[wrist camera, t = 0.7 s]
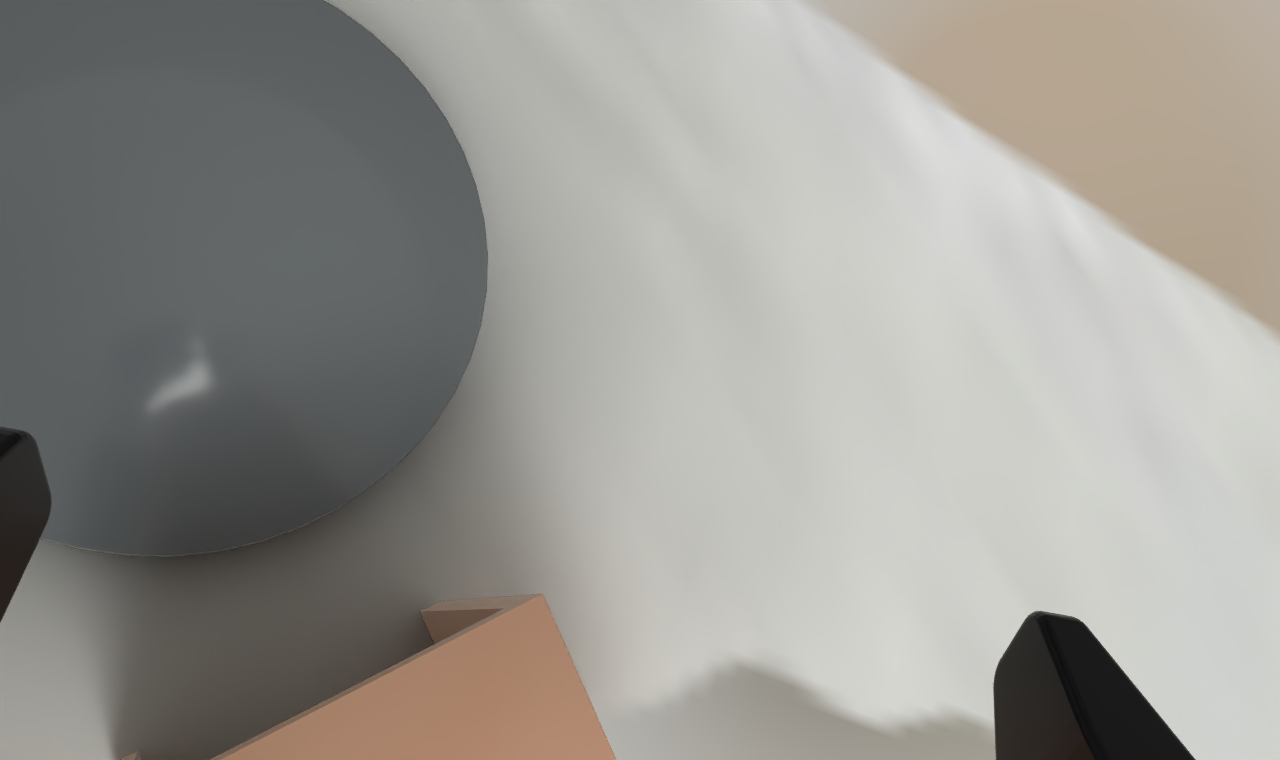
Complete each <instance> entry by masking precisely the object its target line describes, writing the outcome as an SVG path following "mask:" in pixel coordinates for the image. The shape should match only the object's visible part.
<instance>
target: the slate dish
mask: <svg viewBox="0 0 1280 760" xmlns="http://www.w3.org/2000/svg"><path fill="white" fill-rule="evenodd" d="M487 264H488V252H487V242H486V233H485V223H484V217H483V212H482V208H481V204H480V200H479V196H478V191H477V187H476V184H475V181H474V178H473V176H472V173H471V170H470V168H469V165H468V162H467V160H466V157H465V154H464V152H463V150H462V148H461V146H460V144H459V142H458V140H457V138H456V136H455V134H454V132H453V131H452V129H451V127H450V125H449V123H448V121H447V119H446V118H445V116H444V115H443V113H442V112H441V110H440V109H439V107H438V106H437V104H436V103H435V102H434V100H433V99H432V97H431V96H430V94H429V93H428V91H427V90H426V88H425V87H424V86H423V85H422V84H421V83H420V81H419V80H418V79H417V78H416V77H415V76H414V75H413V73H412V72H411V71H410V70H409V69H408V68H407V66H406V65H405V64H404V63H403V62H402V61H401V60H400V59H399V58H398V57H397V56H396V55H395V54H394V53H393V52H392V51H391V50H390V49H389V48H387V47H386V46H385V45H384V44H383V43H382V42H381V41H380V40H379V39H378V38H377V37H375V36H374V35H373V34H372V33H371V32H370V31H368V30H367V29H365V28H364V27H363V26H361V25H360V24H359V23H357V22H356V21H355V20H353V19H352V18H351V17H349V16H348V15H346V14H345V13H344V12H342V11H341V10H340V9H338V8H336V7H334V6H333V5H331V4H329V3H328V2H326V1H324V0H0V427H6V428H12V429H17V430H23V431H25V432H28V433H30V434H31V435H32V437H33V438H34V439H35V440H36V443H37V445H38V449H39V452H40V456H41V459H42V463H43V467H44V470H45V474H46V477H47V481H48V484H49V488H50V491H51V497H52V506H51V512H50V516H49V519H48V522H47V524H46V527H45V529H44V531H43V533H42V535H41V537H40V539H42V540H46V541H50V542H53V543H57V544H61V545H65V546H68V547H72V548H76V549H80V550H86V551H93V552H101V553H108V554H115V555H122V556H147V557H177V556H187V555H196V554H206V553H215V552H221V551H225V550H230V549H234V548H239V547H243V546H247V545H252V544H256V543H260V542H263V541H266V540H269V539H271V538H274V537H277V536H280V535H282V534H285V533H288V532H291V531H294V530H296V529H299V528H301V527H303V526H305V525H307V524H309V523H311V522H313V521H315V520H317V519H319V518H321V517H323V516H325V515H327V514H329V513H331V512H333V511H335V510H337V509H338V508H340V507H341V506H343V505H344V504H346V503H347V502H349V501H350V500H351V499H353V498H354V497H356V496H357V495H359V494H360V493H362V492H363V491H365V490H366V489H368V488H369V487H370V486H372V485H373V484H375V483H376V482H377V481H379V480H380V479H381V478H382V477H383V476H384V475H385V474H387V473H388V472H389V471H390V470H391V469H392V468H393V467H394V466H396V465H397V464H398V463H399V462H400V461H401V460H402V459H403V458H405V457H406V456H407V455H408V454H409V453H410V452H411V451H412V449H413V448H414V447H415V446H416V445H417V444H418V442H419V441H420V440H421V439H422V438H423V437H424V435H425V434H426V433H427V432H428V431H429V430H430V428H431V427H432V426H433V425H434V424H435V422H436V421H437V419H438V417H439V416H440V414H441V413H442V411H443V410H444V408H445V407H446V405H447V404H448V402H449V400H450V399H451V397H452V396H453V394H454V393H455V391H456V389H457V386H458V384H459V382H460V380H461V378H462V376H463V374H464V371H465V369H466V367H467V365H468V363H469V361H470V358H471V355H472V352H473V349H474V345H475V342H476V339H477V336H478V333H479V329H480V326H481V321H482V315H483V309H484V303H485V297H486V291H487Z"/></svg>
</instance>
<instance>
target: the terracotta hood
mask: <svg viewBox="0 0 1280 760" xmlns="http://www.w3.org/2000/svg"><path fill="white" fill-rule="evenodd" d="M420 613H421V615H422V617H423V620H424V622H425V624H426V626H427V629H428V631H429V633H430V636H431V638H432V640H433V642H434V645H432V646H430V647H428V648H426V649H424V650H422V651H420V652H418V653H417V654H415V655H413V656H411V657H409V658H407V659H405V660H403V661H401V662H399V663H397V664H395V665H393V666H391V667H389V668H387V669H385V670H383V671H381V672H379V673H378V674H376V675H374V676H372V677H370V678H368V679H366V680H364V681H362V682H360V683H358V684H356V685H354V686H352V687H350V688H348V689H346V690H344V691H342V692H340V693H339V694H337V695H335V696H333V697H331V698H329V699H327V700H325V701H323V702H321V703H319V704H317V705H315V706H313V707H311V708H309V709H307V710H305V711H303V712H302V713H300V714H298V715H296V716H294V717H292V718H290V719H288V720H286V721H284V722H282V723H280V724H278V725H276V726H274V727H272V728H270V729H268V730H266V731H264V732H263V733H261V734H259V735H257V736H255V737H253V738H251V739H249V740H247V741H245V742H243V743H241V744H239V745H237V746H235V747H233V748H231V749H229V750H227V751H226V752H224V753H222V754H220V755H218V756H216V757H214V758H212V759H210V760H616V758H615V755H614V753H613V751H612V749H611V746H610V744H609V742H608V740H607V737H606V735H605V733H604V731H603V729H602V726H601V724H600V722H599V720H598V717H597V715H596V713H595V711H594V708H593V706H592V704H591V702H590V699H589V697H588V695H587V693H586V690H585V688H584V686H583V684H582V681H581V679H580V677H579V675H578V672H577V670H576V668H575V666H574V663H573V661H572V659H571V657H570V654H569V652H568V650H567V648H566V645H565V643H564V641H563V639H562V636H561V634H560V632H559V630H558V627H557V625H556V623H555V621H554V618H553V616H552V614H551V612H550V609H549V607H548V605H547V603H546V601H545V598H544V596H543V594H532V595H518V596H504V597H490V598H476V599H463V600H449V601H440V602H438V603H436V604H434V605H432V606H430V607H427V608H425V609H423V610H421V611H420ZM120 760H142V759H141V756H140V754H139V752H138V751H137V752H134V753H132V754H130V755H128V756H126V757H124V758H122V759H120Z"/></svg>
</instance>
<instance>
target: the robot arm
mask: <svg viewBox="0 0 1280 760" xmlns="http://www.w3.org/2000/svg"><path fill="white" fill-rule="evenodd" d="M51 506H52V497H51V491H50V488H49V484H48V481H47V477H46V474H45V470H44V467H43V463H42V459H41V456H40V452H39V449H38V445H37V443H36V440H35V439H34V438H33V437H32V435H31V434H30V433H28V432H25V431H23V430H17V429H12V428H6V427H0V622H1V620H2V618H3V616H4V614H5V612H6V609H7V607H8V605H9V603H10V601H11V599H12V597H13V595H14V592H15V590H16V588H17V586H18V584H19V582H20V580H21V578H22V575H23V573H24V571H25V569H26V567H27V565H28V563H29V561H30V558H31V556H32V554H33V552H34V550H35V548H36V546H37V544H38V541H39V539H40V537H41V535H42V533H43V531H44V529H45V527H46V524H47V522H48V519H49V516H50V512H51ZM994 719H995V748H996V760H1195V758H1194V757H1193V756H1192V755H1191V754H1190V752H1189V751H1188V750H1187V749H1186V747H1185V746H1184V745H1183V744H1182V743H1181V741H1180V740H1179V739H1178V738H1177V736H1176V735H1175V734H1174V733H1173V731H1172V730H1171V729H1170V728H1169V727H1168V725H1167V724H1166V723H1165V722H1164V720H1163V719H1162V718H1161V717H1160V716H1159V714H1158V713H1157V712H1156V711H1155V709H1154V708H1153V707H1152V706H1151V704H1150V703H1149V702H1148V701H1147V700H1146V698H1145V697H1144V696H1143V695H1142V693H1141V692H1140V691H1139V690H1138V689H1137V687H1136V686H1135V685H1134V684H1133V682H1132V681H1131V680H1130V679H1129V677H1128V676H1127V675H1126V674H1125V673H1124V671H1123V670H1122V669H1121V668H1120V666H1119V665H1118V664H1117V663H1116V662H1115V660H1114V659H1113V658H1112V657H1111V655H1110V654H1109V653H1108V652H1107V650H1106V649H1105V648H1104V647H1103V646H1102V644H1101V643H1100V642H1099V641H1098V639H1097V638H1096V637H1095V636H1094V635H1093V633H1092V632H1091V631H1090V630H1089V628H1088V627H1087V626H1086V625H1085V624H1084V623H1083V622H1081V621H1080V620H1079V619H1077V618H1075V617H1071V616H1066V615H1061V614H1055V613H1049V612H1044V611H1035V612H1033V613H1031V614H1030V615H1028V617H1027V618H1026V619H1025V620H1024V622H1023V624H1022V625H1021V627H1020V629H1019V630H1018V632H1017V633H1016V635H1015V637H1014V638H1013V640H1012V641H1011V643H1010V645H1009V646H1008V648H1007V650H1006V651H1005V653H1004V654H1003V656H1002V658H1001V659H1000V661H999V663H998V666H997V668H996V672H995V677H994Z"/></svg>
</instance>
